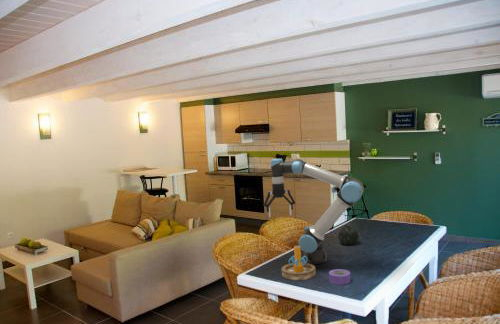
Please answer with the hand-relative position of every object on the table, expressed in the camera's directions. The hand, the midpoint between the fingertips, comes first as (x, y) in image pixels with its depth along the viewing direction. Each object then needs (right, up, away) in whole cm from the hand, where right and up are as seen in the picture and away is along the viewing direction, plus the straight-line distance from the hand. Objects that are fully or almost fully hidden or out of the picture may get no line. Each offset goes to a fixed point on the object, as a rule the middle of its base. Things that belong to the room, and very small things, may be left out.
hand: (280, 216), depth 266 cm
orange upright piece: (+10, -32, -15) cm, 36 cm away
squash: (+54, -26, +41) cm, 73 cm away
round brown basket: (+10, -33, -15) cm, 38 cm away
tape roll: (+32, -33, -30) cm, 55 cm away
